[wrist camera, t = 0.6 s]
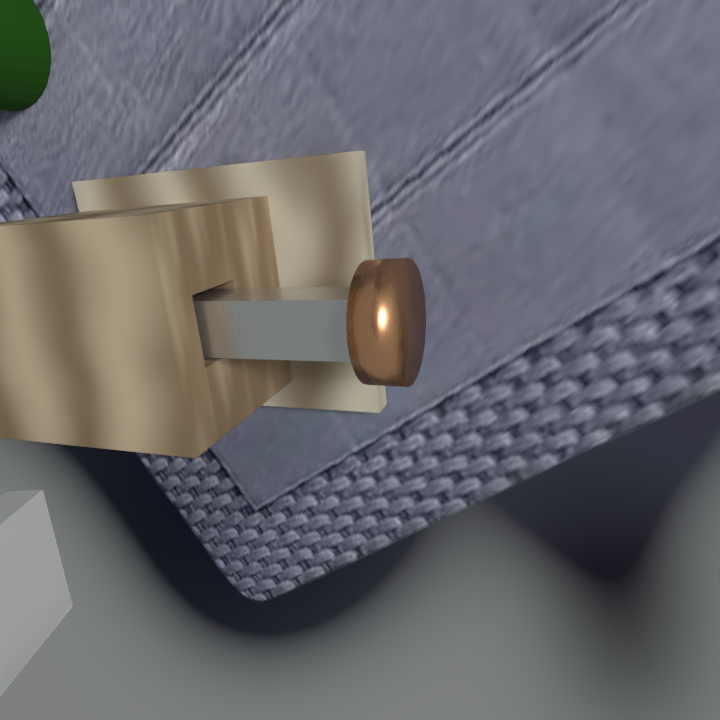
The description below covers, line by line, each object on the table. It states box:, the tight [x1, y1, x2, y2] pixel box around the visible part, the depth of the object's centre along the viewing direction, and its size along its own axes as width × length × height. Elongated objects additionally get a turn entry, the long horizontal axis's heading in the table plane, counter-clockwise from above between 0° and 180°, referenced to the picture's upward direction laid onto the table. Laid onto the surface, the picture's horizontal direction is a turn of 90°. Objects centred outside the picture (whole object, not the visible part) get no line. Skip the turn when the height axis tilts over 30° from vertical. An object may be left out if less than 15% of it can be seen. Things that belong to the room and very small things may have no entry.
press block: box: [0, 151, 387, 458], centre depth 34 cm, size 21×16×12 cm
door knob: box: [192, 258, 426, 387], centre depth 30 cm, size 16×6×6 cm, turn 96°
